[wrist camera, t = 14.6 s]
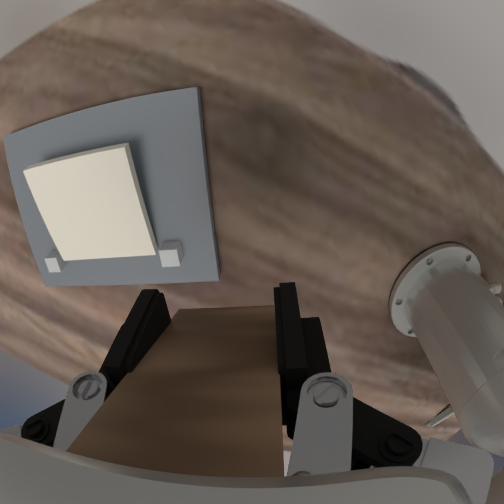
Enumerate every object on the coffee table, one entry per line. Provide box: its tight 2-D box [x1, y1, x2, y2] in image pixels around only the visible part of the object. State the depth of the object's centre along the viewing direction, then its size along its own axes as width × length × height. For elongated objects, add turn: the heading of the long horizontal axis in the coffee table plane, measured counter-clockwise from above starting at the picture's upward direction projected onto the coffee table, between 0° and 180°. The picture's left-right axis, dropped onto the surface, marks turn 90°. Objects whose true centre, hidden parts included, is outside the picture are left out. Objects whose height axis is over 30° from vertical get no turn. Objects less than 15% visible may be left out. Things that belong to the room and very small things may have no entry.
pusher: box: [66, 305, 284, 477], centre depth 8 cm, size 4×4×10 cm
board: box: [3, 87, 220, 286], centre depth 25 cm, size 20×17×3 cm
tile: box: [23, 143, 158, 261], centre depth 24 cm, size 10×10×1 cm
